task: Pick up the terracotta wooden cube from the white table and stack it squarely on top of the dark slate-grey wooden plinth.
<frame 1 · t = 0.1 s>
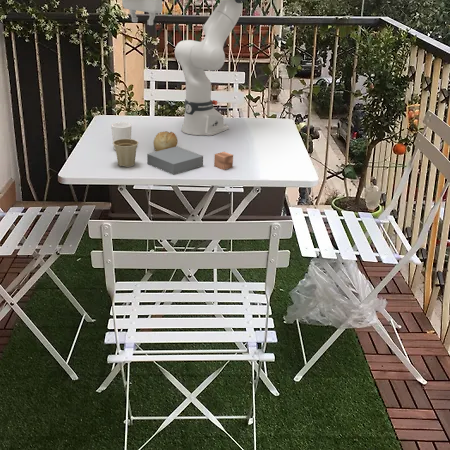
hand: (142, 23, 225), 48 cm above the table, tool pointing down, fingers open, 8 cm apart
plinth: (175, 164, 224), on the table
white cup: (122, 149, 238), on the table
cube: (223, 167, 224), on the table
flower pot: (126, 164, 222), on the table
bread roll: (165, 151, 238), on the table
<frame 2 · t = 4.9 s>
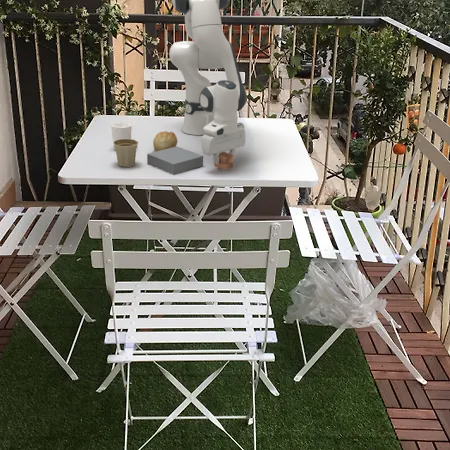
hand: (223, 161, 223), 2 cm above the table, tool pointing down, fingers closed on cube, 5 cm apart
cube: (223, 166, 224), on the table, touching gripper
everything else where it was.
when the fingers open (8 cm above the table, at t = 10.4 s): cube drops 1 cm, resting on plinth.
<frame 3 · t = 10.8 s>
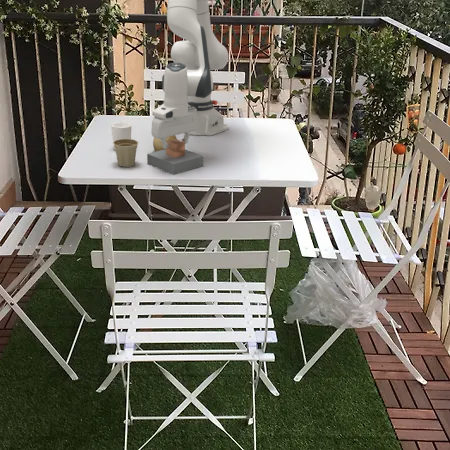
hand: (175, 145, 220), 8 cm above the table, tool pointing down, fingers open, 8 cm apart
cube: (175, 154, 222), point 4 cm above the table, touching plinth
everything else where it was.
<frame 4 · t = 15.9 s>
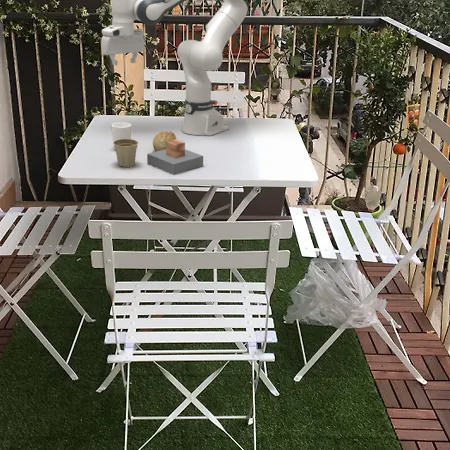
hand: (124, 63, 249), 29 cm above the table, tool pointing down, fingers open, 8 cm apart
nothing on the table moved.
at the end: cube inside the target area on the plinth (0.1 cm from its centre), point 4.0 cm above the plinth's base; cube tilted 0°; the gripper is holding nothing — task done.
